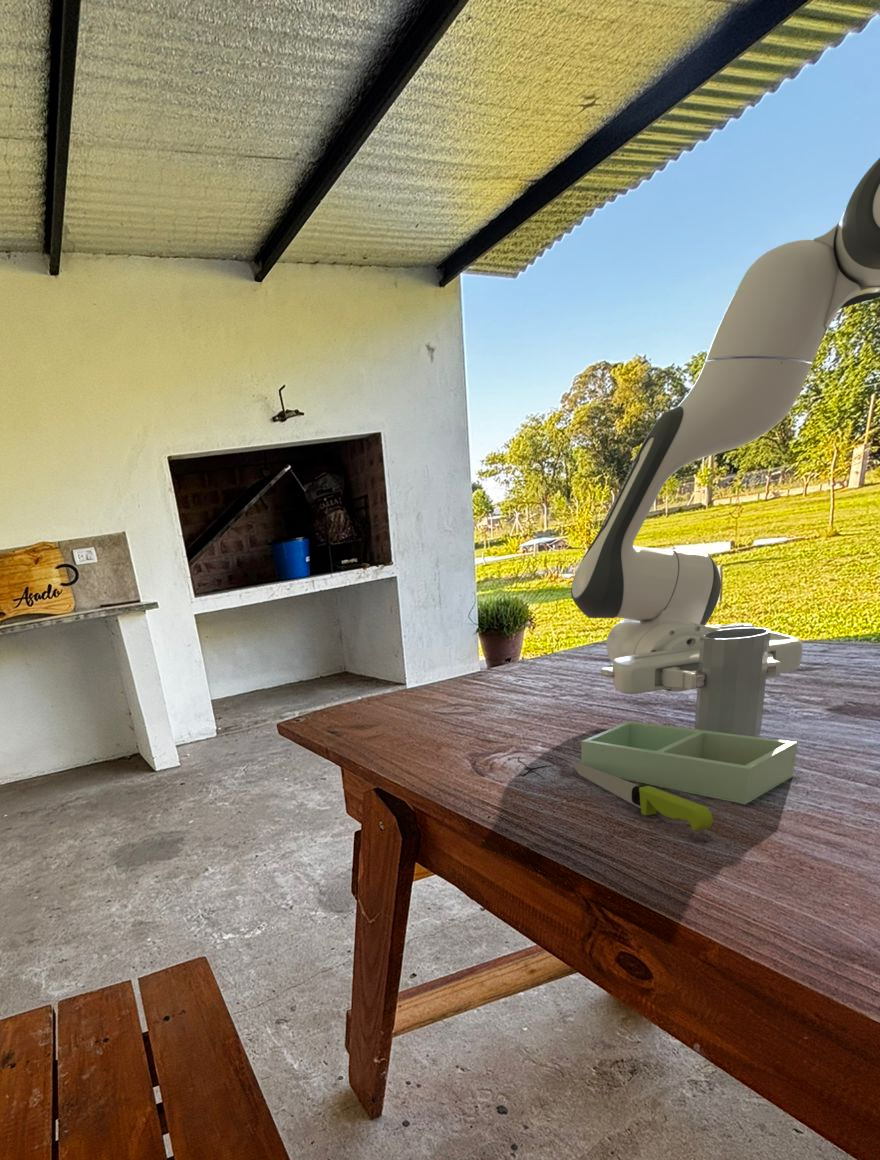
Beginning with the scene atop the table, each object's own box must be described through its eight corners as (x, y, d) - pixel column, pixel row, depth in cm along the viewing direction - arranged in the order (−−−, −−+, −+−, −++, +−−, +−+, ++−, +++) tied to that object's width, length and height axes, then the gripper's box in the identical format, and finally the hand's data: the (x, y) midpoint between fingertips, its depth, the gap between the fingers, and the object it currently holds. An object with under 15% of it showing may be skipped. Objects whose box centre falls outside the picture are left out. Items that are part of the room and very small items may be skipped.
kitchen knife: (567, 783, 75) (566, 760, 74) (577, 781, 75) (576, 758, 74) (700, 843, 54) (700, 811, 53) (713, 840, 54) (714, 808, 53)
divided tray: (628, 751, 78) (629, 720, 77) (793, 779, 63) (798, 741, 62) (581, 773, 74) (581, 741, 73) (744, 808, 60) (748, 768, 58)
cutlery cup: (712, 723, 78) (719, 627, 73) (771, 730, 72) (782, 627, 68) (683, 737, 75) (689, 639, 71) (742, 745, 70) (751, 639, 65)
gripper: (595, 647, 84) (639, 663, 71) (761, 620, 80) (839, 633, 67) (595, 692, 86) (638, 716, 73) (756, 668, 82) (831, 689, 70)
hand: (736, 676), depth 70 cm, fingers closed on cutlery cup, 6 cm apart
